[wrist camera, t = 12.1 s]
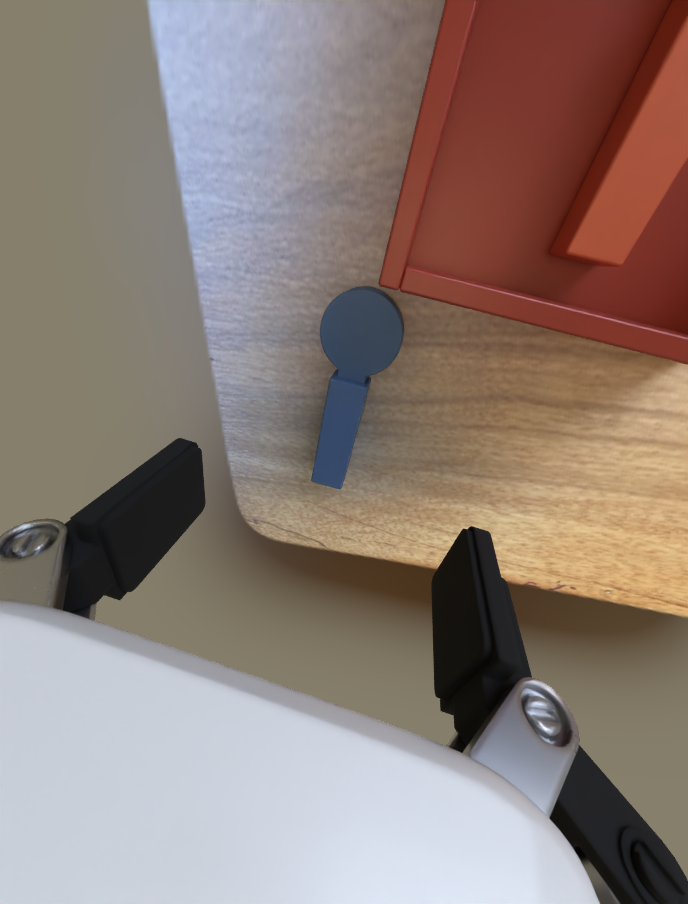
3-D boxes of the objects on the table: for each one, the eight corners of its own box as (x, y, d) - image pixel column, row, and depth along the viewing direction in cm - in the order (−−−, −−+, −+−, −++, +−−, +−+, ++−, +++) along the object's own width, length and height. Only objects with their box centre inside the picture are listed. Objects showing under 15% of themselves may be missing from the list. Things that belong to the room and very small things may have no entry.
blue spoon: (360, 478, 17) (355, 495, 15) (303, 462, 17) (295, 477, 16) (414, 297, 12) (414, 302, 10) (333, 277, 12) (324, 279, 11)
